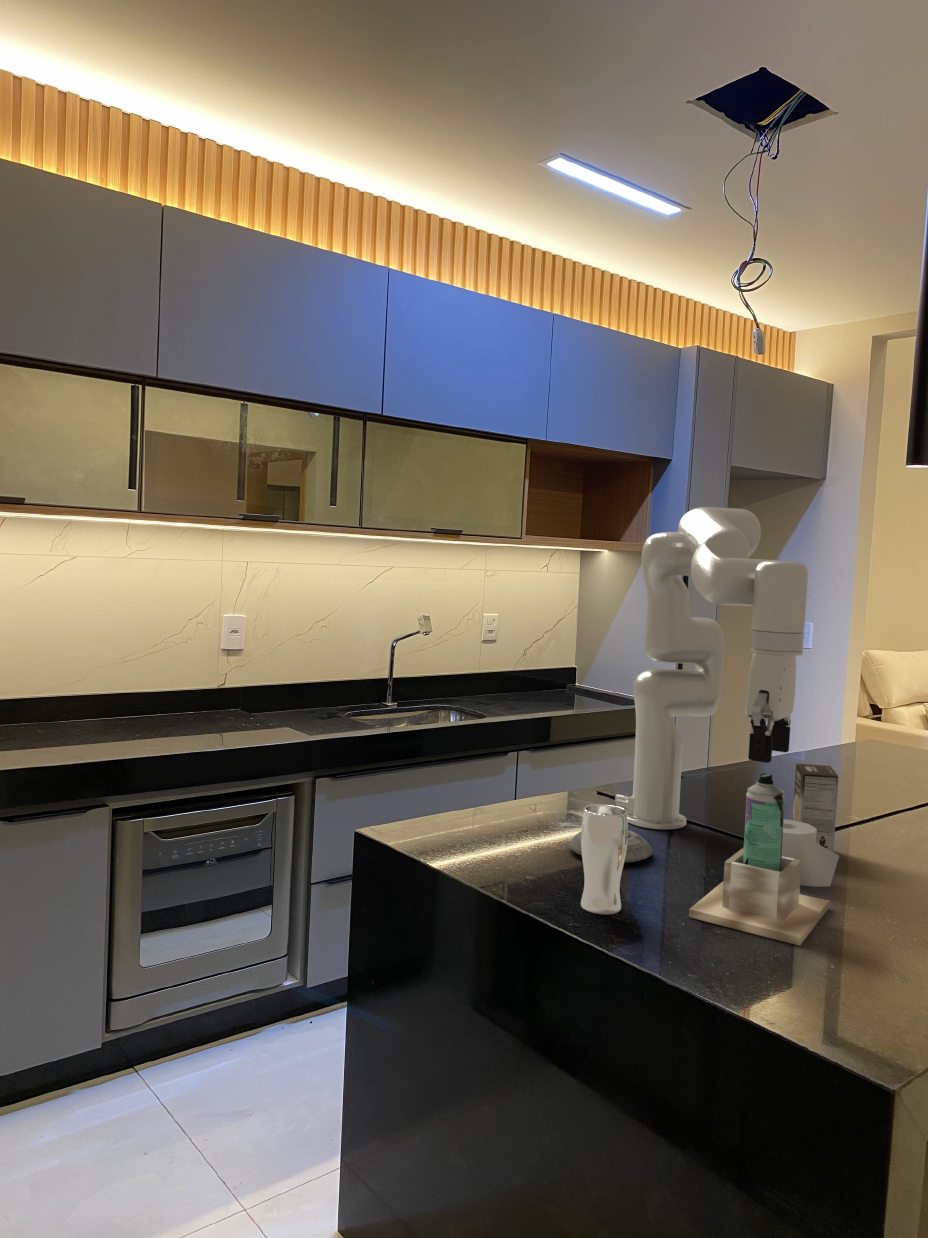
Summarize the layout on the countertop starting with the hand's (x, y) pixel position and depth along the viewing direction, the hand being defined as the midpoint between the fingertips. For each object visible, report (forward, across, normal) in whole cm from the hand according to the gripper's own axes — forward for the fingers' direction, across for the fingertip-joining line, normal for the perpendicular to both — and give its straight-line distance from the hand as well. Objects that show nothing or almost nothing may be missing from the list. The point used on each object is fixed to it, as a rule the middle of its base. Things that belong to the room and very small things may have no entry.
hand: (768, 755), depth 136 cm
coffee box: (+25, -36, -1) cm, 44 cm away
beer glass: (+24, +14, -20) cm, 34 cm away
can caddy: (+24, 0, 0) cm, 24 cm away
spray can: (+23, 0, 0) cm, 23 cm away
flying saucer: (+25, -10, -30) cm, 40 cm away
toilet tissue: (+25, -20, 0) cm, 32 cm away
